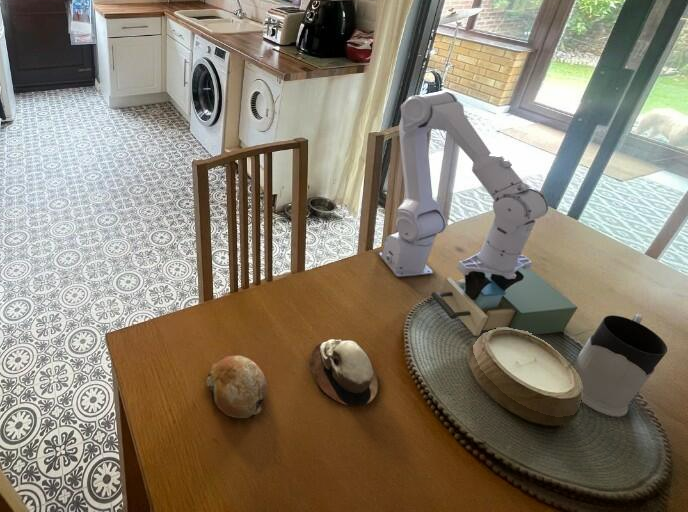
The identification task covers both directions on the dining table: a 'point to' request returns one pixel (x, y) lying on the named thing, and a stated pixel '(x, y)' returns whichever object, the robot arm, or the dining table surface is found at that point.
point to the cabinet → (537, 305)
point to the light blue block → (489, 295)
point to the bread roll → (237, 386)
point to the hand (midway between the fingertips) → (481, 294)
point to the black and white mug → (617, 363)
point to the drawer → (472, 308)
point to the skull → (344, 372)
